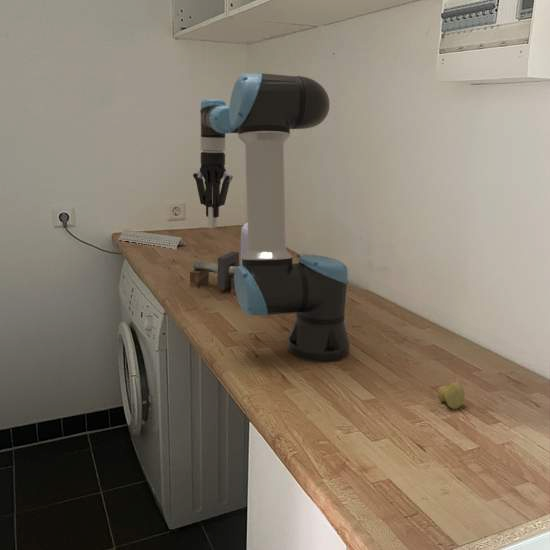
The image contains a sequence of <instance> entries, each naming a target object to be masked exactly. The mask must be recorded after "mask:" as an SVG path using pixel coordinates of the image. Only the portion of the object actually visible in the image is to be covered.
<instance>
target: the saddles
mask: <svg viewBox="0 0 550 550" xmlns="http://www.w3.org/2000/svg"><path fill="white" fill-rule="evenodd" d="M209 274H210V272H207V271H201V270H195V269H193V270H190V271H189V287H190V286H192V287H191V288H195V287H197V289H199V288H201V287H203V286H205V285H206V284H209V279H210V278H209V277H210V275H209ZM202 285H203V286H202ZM200 286H201V287H200ZM198 287H199V288H198ZM230 287H231V288H230V294H231V295H236V290H235V284H234V277H233V278H231V286H230Z"/></svg>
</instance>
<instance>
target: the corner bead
mask: <svg viewBox="0 0 550 550" xmlns="http://www.w3.org/2000/svg"><path fill="white" fill-rule="evenodd" d="M182 238H183V237H181V236H174V235H166V234H158V233H151V232H146V231H145V232H144V231H143V232H142V231H136V230H128V229H122V231H121V233H120V235H119V236H118V239H117V241H118V240H122V241H123V242H124V241H129V242H130V243H131V242H136V243H137V244H138V243H140V244H141V243H142V244H147V245H148V244H149V245H152V246H153V245H155V246H161V247H160V248H162V247H166V248H165V249H169V248H172V249H171V250H177V249H178V246H184V245H186V243H185V242H184V240H183V239H182ZM142 239H143V240H142ZM149 240H150V241H149ZM164 242H165V243H164ZM169 243H170V244H169ZM178 244H179V245H178ZM155 246H154V247H155Z"/></svg>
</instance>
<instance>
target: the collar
mask: <svg viewBox="0 0 550 550" xmlns="http://www.w3.org/2000/svg"><path fill="white" fill-rule="evenodd" d="M239 257H240V252H239V251H230V252H228V253H226V254H223V255H221V256H218V257H217V264H218V273H217V289H219V290H226V289H227V288H229V287H231V278H233V277H234V276H233V275H229V265H231V266H236V267H238V266H239V265H240V264H239V263H240V261H239V260H240V258H239Z"/></svg>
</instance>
